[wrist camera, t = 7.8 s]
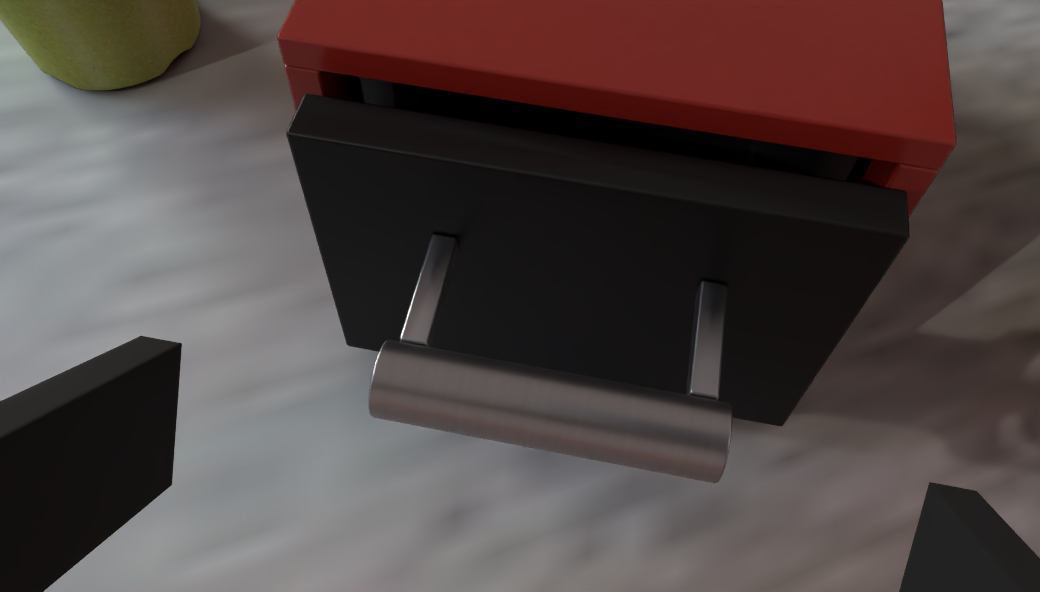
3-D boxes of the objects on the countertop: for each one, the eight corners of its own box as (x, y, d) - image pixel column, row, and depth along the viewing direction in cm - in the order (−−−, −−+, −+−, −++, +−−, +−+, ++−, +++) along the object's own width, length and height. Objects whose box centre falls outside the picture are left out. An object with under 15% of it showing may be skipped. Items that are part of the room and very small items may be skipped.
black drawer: (777, 589, 22) (923, 450, 14) (295, 492, 23) (200, 316, 15) (795, 65, 32) (887, -176, 24) (461, 14, 33) (452, -232, 25)
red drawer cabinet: (797, 391, 26) (958, 144, 17) (347, 309, 27) (274, 36, 18) (806, 35, 34) (918, -257, 25) (463, -16, 35) (452, -314, 26)
